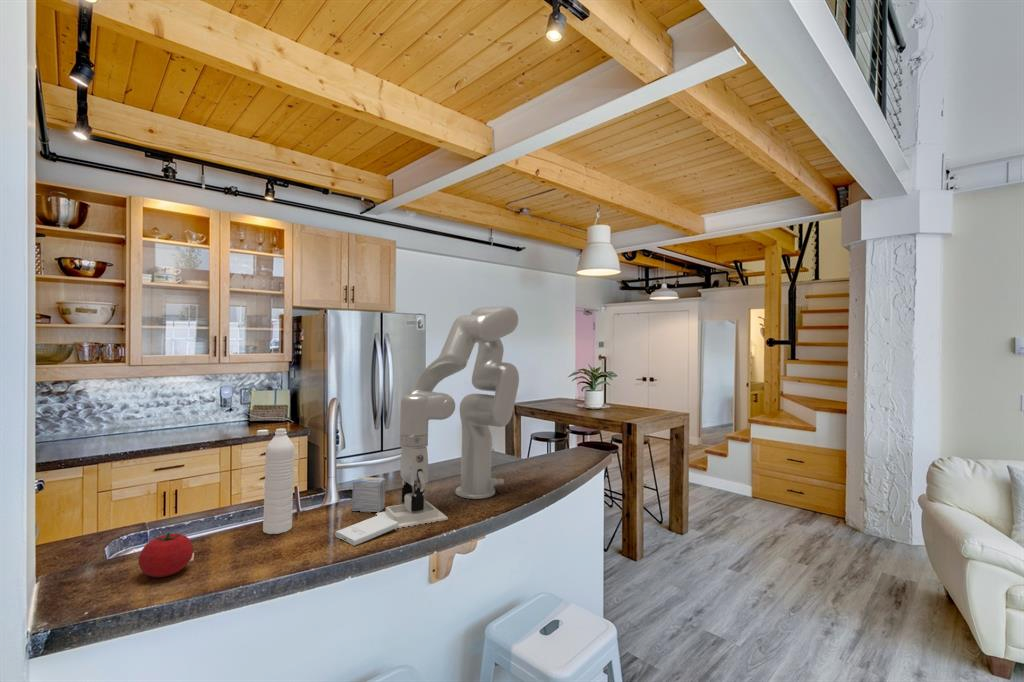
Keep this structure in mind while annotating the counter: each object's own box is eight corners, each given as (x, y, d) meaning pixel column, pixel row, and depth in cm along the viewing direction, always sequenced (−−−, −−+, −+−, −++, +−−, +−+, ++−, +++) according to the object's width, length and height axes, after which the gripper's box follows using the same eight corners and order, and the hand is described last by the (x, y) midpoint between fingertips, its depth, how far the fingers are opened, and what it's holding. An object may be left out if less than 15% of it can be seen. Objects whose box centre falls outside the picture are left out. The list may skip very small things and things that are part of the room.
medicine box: (385, 508, 133) (385, 477, 133) (379, 513, 128) (380, 482, 129) (358, 506, 134) (359, 476, 134) (351, 512, 129) (352, 480, 129)
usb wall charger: (410, 513, 122) (410, 498, 123) (400, 506, 128) (401, 491, 128) (424, 511, 125) (425, 496, 125) (414, 503, 130) (414, 489, 130)
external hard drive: (398, 528, 117) (354, 546, 107) (379, 520, 122) (335, 537, 112) (398, 522, 117) (354, 539, 107) (379, 514, 122) (335, 530, 112)
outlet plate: (431, 506, 135) (431, 497, 136) (447, 519, 125) (447, 510, 125) (375, 515, 127) (376, 506, 127) (388, 530, 117) (389, 520, 117)
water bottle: (286, 522, 120) (289, 425, 121) (296, 529, 116) (299, 429, 116) (249, 531, 114) (252, 429, 114) (258, 539, 110) (261, 432, 110)
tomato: (197, 560, 98) (198, 522, 98) (186, 580, 90) (188, 538, 90) (146, 567, 95) (147, 527, 95) (130, 588, 87) (132, 544, 87)
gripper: (439, 445, 121) (437, 513, 121) (416, 433, 136) (414, 495, 136) (411, 447, 117) (409, 518, 117) (390, 435, 132) (389, 498, 132)
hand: (412, 505), depth 126 cm, fingers closed on usb wall charger, 7 cm apart
